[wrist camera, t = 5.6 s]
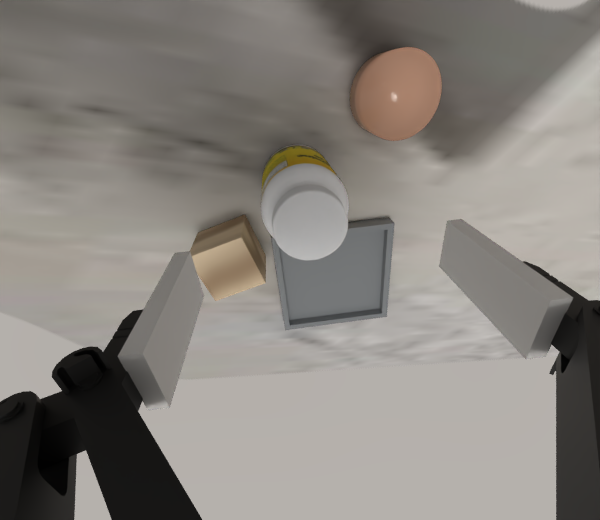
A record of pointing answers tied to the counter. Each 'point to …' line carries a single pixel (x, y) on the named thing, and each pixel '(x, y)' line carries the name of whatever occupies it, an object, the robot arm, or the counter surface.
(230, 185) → the counter surface
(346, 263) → the slate tray
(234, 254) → the cork block
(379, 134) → the brown egg
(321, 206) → the pill bottle
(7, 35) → the counter surface
